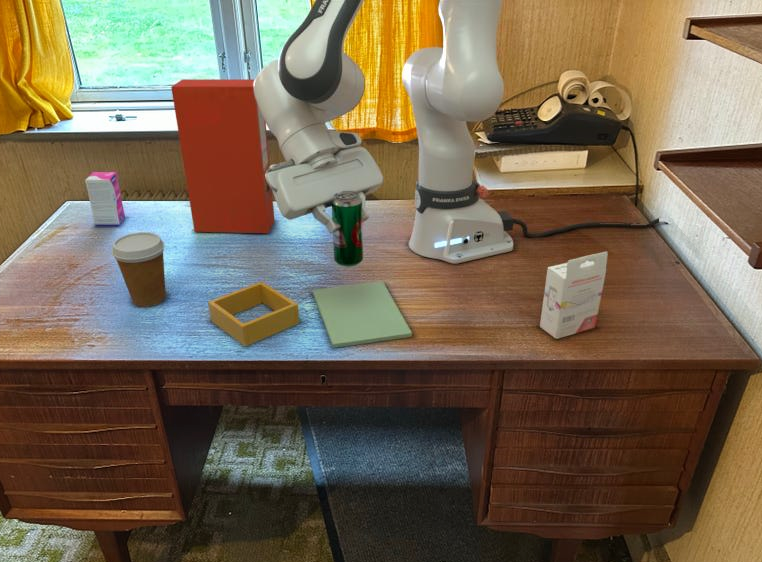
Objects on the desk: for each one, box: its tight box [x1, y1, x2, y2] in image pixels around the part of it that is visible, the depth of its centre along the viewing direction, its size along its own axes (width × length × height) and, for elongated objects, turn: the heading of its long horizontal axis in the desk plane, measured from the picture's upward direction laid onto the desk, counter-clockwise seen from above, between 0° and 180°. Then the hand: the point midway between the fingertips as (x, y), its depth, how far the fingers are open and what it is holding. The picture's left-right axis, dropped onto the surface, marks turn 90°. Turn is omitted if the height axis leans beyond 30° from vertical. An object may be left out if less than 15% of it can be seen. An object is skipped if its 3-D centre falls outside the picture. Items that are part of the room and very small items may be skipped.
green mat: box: [312, 280, 413, 349], centre depth 124 cm, size 14×20×1 cm
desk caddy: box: [207, 281, 301, 348], centre depth 121 cm, size 12×12×4 cm
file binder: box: [170, 78, 275, 234], centre depth 150 cm, size 8×17×32 cm, turn 84°
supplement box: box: [84, 171, 126, 228], centre depth 160 cm, size 6×6×12 cm
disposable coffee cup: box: [110, 231, 167, 308], centre depth 127 cm, size 10×10×12 cm
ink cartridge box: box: [539, 251, 609, 340], centre depth 114 cm, size 9×5×15 cm, turn 114°
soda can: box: [331, 191, 364, 268], centre depth 114 cm, size 5×5×12 cm
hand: (350, 225), depth 114 cm, fingers closed on soda can, 5 cm apart
